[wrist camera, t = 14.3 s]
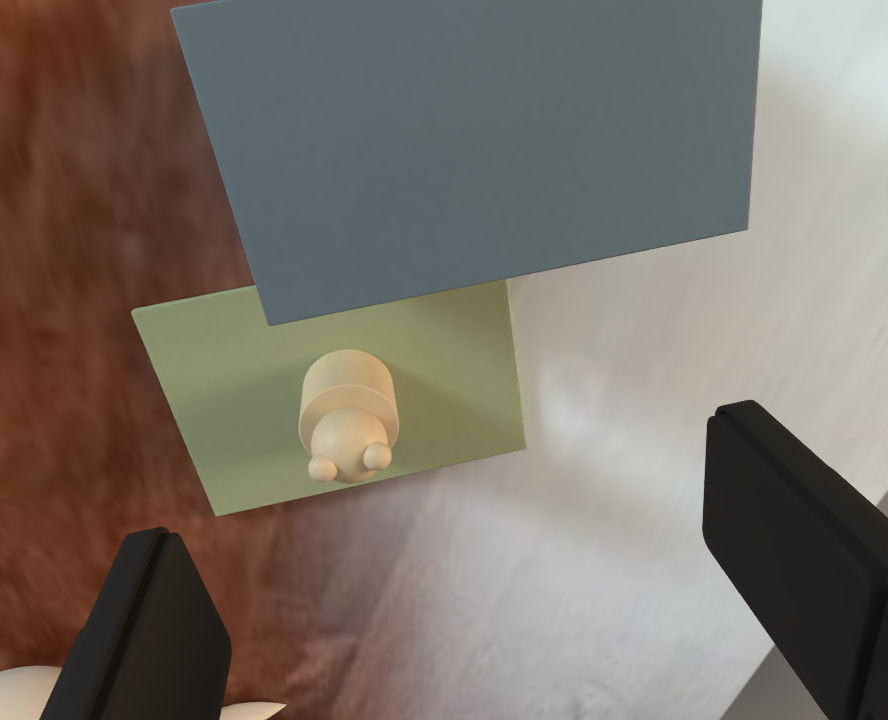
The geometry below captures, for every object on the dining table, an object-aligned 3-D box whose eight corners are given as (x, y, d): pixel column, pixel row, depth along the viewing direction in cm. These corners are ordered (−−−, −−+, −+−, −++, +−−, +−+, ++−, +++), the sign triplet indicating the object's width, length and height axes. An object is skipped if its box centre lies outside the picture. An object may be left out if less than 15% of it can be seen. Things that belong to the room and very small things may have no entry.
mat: (499, 236, 35) (501, 238, 34) (524, 444, 41) (526, 448, 40) (132, 308, 33) (130, 312, 33) (217, 512, 40) (215, 517, 39)
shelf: (614, -40, 30) (769, -93, 19) (620, 175, 34) (748, 230, 23) (233, 26, 28) (168, 8, 18) (291, 239, 33) (267, 327, 22)
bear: (383, 340, 36) (394, 412, 28) (402, 425, 38) (416, 511, 31) (292, 358, 35) (280, 436, 28) (317, 443, 38) (312, 534, 31)
